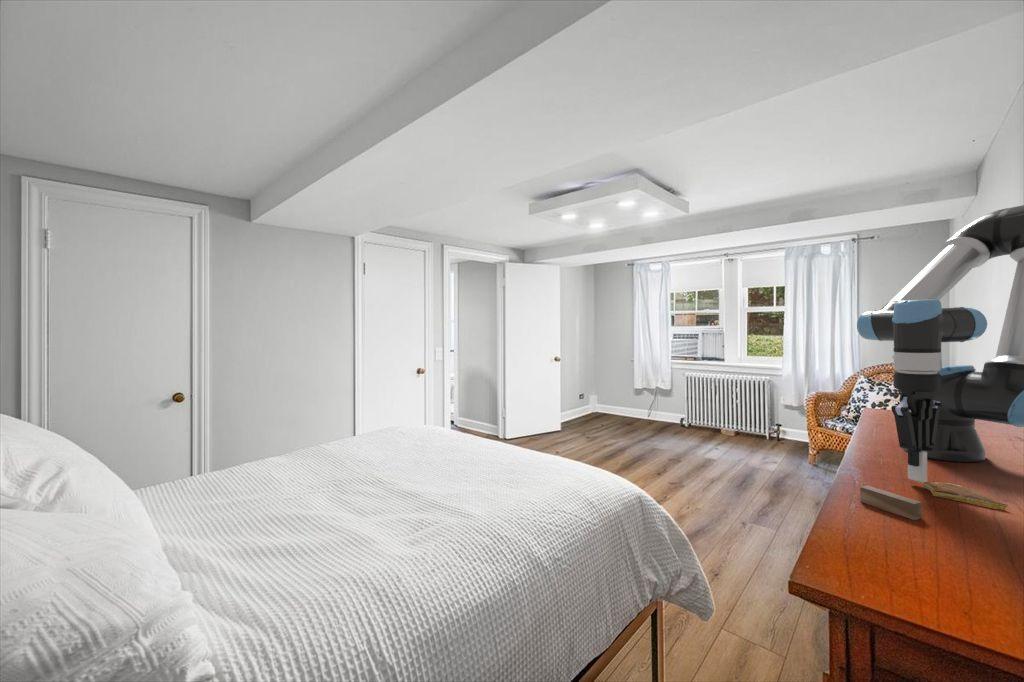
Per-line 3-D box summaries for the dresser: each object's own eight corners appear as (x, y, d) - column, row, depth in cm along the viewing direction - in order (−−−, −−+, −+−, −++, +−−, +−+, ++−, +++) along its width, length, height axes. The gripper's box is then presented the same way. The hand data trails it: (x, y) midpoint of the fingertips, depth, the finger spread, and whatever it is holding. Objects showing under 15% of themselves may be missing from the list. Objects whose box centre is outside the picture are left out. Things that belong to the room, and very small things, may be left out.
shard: (1008, 513, 79) (1008, 503, 79) (960, 512, 80) (960, 502, 80) (958, 490, 90) (958, 482, 90) (916, 489, 91) (916, 481, 91)
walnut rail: (867, 499, 86) (867, 485, 86) (921, 518, 78) (921, 502, 78) (860, 501, 86) (860, 487, 86) (914, 520, 77) (914, 504, 77)
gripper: (915, 368, 97) (915, 470, 98) (876, 372, 93) (877, 478, 94) (958, 371, 90) (958, 481, 91) (918, 375, 86) (919, 490, 87)
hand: (917, 479), depth 92 cm, fingers closed
